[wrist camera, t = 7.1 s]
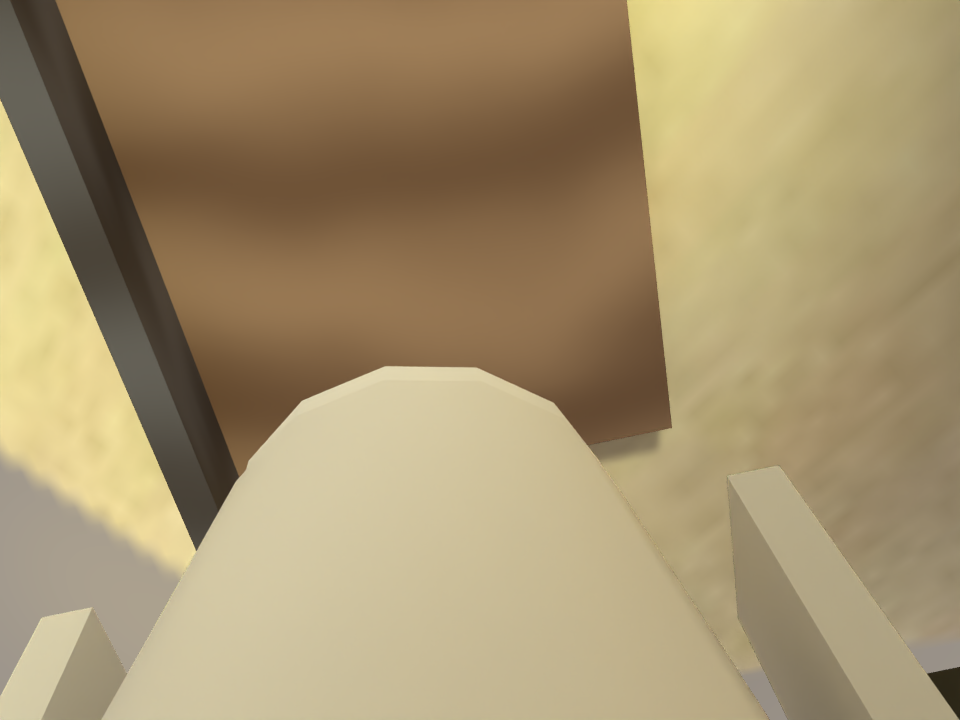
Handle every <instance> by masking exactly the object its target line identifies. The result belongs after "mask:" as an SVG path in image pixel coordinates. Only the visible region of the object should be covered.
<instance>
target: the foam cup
mask: <svg viewBox="0 0 960 720" xmlns="http://www.w3.org/2000/svg"><path fill="white" fill-rule="evenodd" d="M101 720H770V719H769V718H768V716H767V714H766V713H765V711H764V710H763V708H762V707H761V705H760V704H759V702H758V701H757V699H756V698H755V696H754V695H753V693H752V691H751V690H750V688H749V687H748V686H747V684H746V682H745V681H744V679H743V678H742V676H741V675H740V673H739V672H738V670H737V669H736V667H735V665H734V664H733V662H732V661H731V659H730V658H729V656H728V655H727V653H726V652H725V650H724V649H723V647H722V646H721V644H720V643H719V641H718V639H717V638H716V636H715V635H714V633H713V632H712V630H711V629H710V627H709V626H708V624H707V623H706V621H705V620H704V618H703V617H702V615H701V613H700V612H699V610H698V609H697V607H696V606H695V604H694V603H693V601H692V600H691V598H690V597H689V595H688V594H687V592H686V591H685V589H684V587H683V586H682V584H681V583H680V581H679V580H678V578H677V577H676V575H675V574H674V572H673V571H672V569H671V568H670V566H669V565H668V563H667V561H666V560H665V558H664V557H663V555H662V554H661V552H660V551H659V549H658V548H657V546H656V545H655V543H654V542H653V540H652V539H651V537H650V535H649V534H648V532H647V531H646V529H645V528H644V526H643V525H642V523H641V522H640V520H639V519H638V517H637V516H636V514H635V513H634V511H633V509H632V508H631V506H630V505H629V503H628V502H627V500H626V499H625V497H624V496H623V494H622V493H621V491H620V490H619V488H618V487H617V485H616V483H615V482H614V481H613V479H612V478H611V477H610V476H609V474H608V473H607V472H606V470H605V469H604V468H603V467H602V465H601V463H600V461H599V460H598V458H597V457H596V456H595V455H594V453H593V452H592V451H591V449H590V448H589V447H588V446H587V444H586V443H585V442H584V441H583V439H582V438H581V437H580V435H579V434H578V433H577V432H576V430H575V429H574V428H573V427H572V425H571V424H570V423H569V421H568V420H567V419H566V418H565V416H564V415H563V414H562V413H561V411H560V410H559V409H558V407H557V406H556V405H555V404H554V403H553V402H551V401H549V400H546V399H544V398H542V397H540V396H538V395H536V394H533V393H531V392H529V391H527V390H525V389H522V388H520V387H518V386H516V385H514V384H512V383H509V382H507V381H505V380H503V379H501V378H498V377H496V376H494V375H492V374H490V373H488V372H485V371H483V370H481V369H479V368H477V367H403V366H384V367H382V368H380V369H377V370H375V371H372V372H370V373H368V374H365V375H363V376H360V377H358V378H355V379H353V380H351V381H348V382H346V383H343V384H341V385H339V386H336V387H334V388H331V389H329V390H326V391H324V392H322V393H319V394H317V395H314V396H312V397H310V398H307V399H305V400H302V401H301V403H300V404H299V405H298V406H297V407H296V408H295V409H294V410H293V412H292V413H291V414H290V415H289V416H288V417H287V418H286V419H285V420H284V422H283V423H282V424H281V425H280V426H279V427H278V428H277V429H276V431H275V432H274V433H273V434H272V435H271V436H270V437H269V438H268V440H267V441H266V442H265V443H264V444H263V445H262V446H261V447H260V449H259V450H258V451H257V452H256V453H255V454H254V455H253V456H252V458H251V459H250V460H249V461H248V465H247V468H246V471H245V472H244V473H243V474H242V475H241V476H240V477H239V478H238V480H237V481H236V482H235V484H234V486H233V487H232V489H231V491H230V493H229V494H228V496H227V498H226V500H225V502H224V503H223V505H222V507H221V509H220V510H219V512H218V514H217V516H216V517H215V519H214V521H213V523H212V525H211V526H210V528H209V530H208V532H207V533H206V535H205V537H204V539H203V541H202V542H201V544H200V546H199V548H198V549H197V551H196V553H195V555H194V556H193V558H192V560H191V562H190V564H189V565H188V567H187V569H186V571H185V572H184V574H183V576H182V578H181V579H180V581H179V583H178V585H177V587H176V588H175V590H174V592H173V594H172V595H171V597H170V599H169V601H168V603H167V604H166V606H165V608H164V610H163V611H162V613H161V615H160V617H159V619H158V620H157V622H156V624H155V626H154V627H153V629H152V631H151V633H150V634H149V636H148V638H147V640H146V642H145V643H144V645H143V647H142V649H141V650H140V652H139V654H138V656H137V657H136V659H135V661H134V663H133V665H132V666H131V668H130V670H129V672H128V673H127V675H126V677H125V679H124V680H123V682H122V684H121V686H120V688H119V689H118V691H117V693H116V695H115V696H114V698H113V700H112V702H111V704H110V705H109V707H108V709H107V711H106V712H105V714H104V716H103V718H102V719H101Z"/></svg>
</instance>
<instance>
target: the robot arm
mask: <svg viewBox="0 0 960 720" xmlns="http://www.w3.org/2000/svg"><path fill="white" fill-rule="evenodd" d="M727 483H728V496H729V509H730V523H731V536H732V549H733V562H734V575H735V588H736V601H737V614H738V619H739V621H740V623H741V625H742V627H743V629H744V631H745V633H746V635H747V637H748V639H749V641H750V643H751V645H752V647H753V650H754V652H755V654H756V656H757V658H758V660H759V662H760V664H761V666H762V668H763V670H764V672H765V674H766V676H767V678H768V680H769V682H770V684H771V686H772V688H773V690H774V692H775V694H776V696H777V698H778V700H779V703H780V705H781V707H782V709H783V711H784V713H785V715H786V717H787V719H788V720H960V667H957V668H953V669H948V670H943V671H938V672H933V673H928V674H927V673H926V672H925V671H924V669H923V668H922V666H921V665H920V664H919V663H918V661H917V659H916V658H915V657H914V655H913V654H912V652H911V651H910V649H909V648H908V647H907V645H906V644H905V642H904V641H903V640H902V638H901V637H900V635H899V634H898V632H897V631H896V630H895V628H894V627H893V625H892V624H891V623H890V621H889V620H888V618H887V617H886V616H885V614H884V613H883V611H882V610H881V608H880V607H879V606H878V604H877V603H876V601H875V600H874V599H873V597H872V596H871V594H870V593H869V592H868V590H867V589H866V587H865V586H864V584H863V583H862V582H861V580H860V579H859V577H858V576H857V575H856V573H855V572H854V570H853V569H852V567H851V566H850V565H849V563H848V562H847V560H846V559H845V558H844V556H843V555H842V553H841V552H840V551H839V549H838V548H837V546H836V545H835V543H834V542H833V541H832V539H831V538H830V536H829V535H828V534H827V532H826V531H825V529H824V528H823V527H822V525H821V524H820V522H819V521H818V519H817V518H816V517H815V515H814V514H813V512H812V511H811V510H810V508H809V507H808V505H807V504H806V503H805V501H804V500H803V498H802V497H801V495H800V494H799V493H798V491H797V490H796V488H795V487H794V486H793V484H792V483H791V481H790V480H789V479H788V477H787V476H786V474H785V473H784V471H783V470H782V469H781V467H780V466H779V465H777V466H772V467H767V468H762V469H757V470H753V471H748V472H743V473H738V474H733V475H728V476H727ZM126 675H127V673H126V671H125V669H124V667H123V665H122V663H121V661H120V659H119V657H118V655H117V654H116V651H115V650H114V648H113V646H112V644H111V642H110V640H109V638H108V636H107V634H106V632H105V630H104V628H103V626H102V624H101V623H100V621H99V618H98V617H97V615H96V613H95V611H94V609H93V607H91V608H86V609H81V610H76V611H72V612H67V613H62V614H58V615H53V616H48V617H43V618H41V620H40V622H39V624H38V626H37V627H36V629H35V631H34V633H33V635H32V637H31V639H30V641H29V643H28V645H27V646H26V649H25V650H24V652H23V654H22V656H21V658H20V660H19V662H18V664H17V666H16V667H15V669H14V671H13V673H12V675H11V677H10V679H9V681H8V683H7V685H6V687H5V689H4V690H3V693H2V694H1V696H0V720H101V719H102V718H103V716H104V714H105V712H106V711H107V709H108V707H109V705H110V704H111V702H112V700H113V698H114V696H115V695H116V693H117V691H118V689H119V688H120V686H121V684H122V682H123V680H124V679H125V677H126Z"/></svg>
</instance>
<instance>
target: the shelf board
mask: <svg viewBox="0 0 960 720" xmlns="http://www.w3.org/2000/svg"><path fill="white" fill-rule="evenodd" d="M0 99H1V101H2V104H3V106H4V108H5V111H6V113H7V115H8V118H9V120H10V122H11V125H12V127H13V129H14V131H15V134H16V136H17V138H18V141H19V143H20V145H21V148H22V150H23V152H24V155H25V157H26V159H27V161H28V164H29V166H30V168H31V171H32V173H33V175H34V178H35V180H36V182H37V184H38V187H39V189H40V191H41V194H42V196H43V198H44V201H45V203H46V205H47V208H48V210H49V212H50V214H51V217H52V219H53V221H54V224H55V226H56V228H57V231H58V233H59V235H60V238H61V240H62V242H63V244H64V247H65V249H66V251H67V254H68V256H69V258H70V261H71V263H72V265H73V268H74V270H75V272H76V274H77V277H78V279H79V281H80V284H81V286H82V288H83V291H84V293H85V295H86V297H87V300H88V302H89V304H90V307H91V309H92V311H93V314H94V316H95V318H96V321H97V323H98V325H99V327H100V330H101V332H102V334H103V337H104V339H105V341H106V344H107V346H108V348H109V351H110V353H111V355H112V357H113V360H114V362H115V364H116V367H117V369H118V371H119V374H120V376H121V378H122V381H123V383H124V385H125V387H126V390H127V392H128V394H129V397H130V399H131V401H132V404H133V406H134V408H135V410H136V413H137V415H138V417H139V420H140V422H141V424H142V427H143V429H144V431H145V434H146V436H147V438H148V440H149V443H150V445H151V447H152V450H153V452H154V454H155V457H156V459H157V461H158V464H159V466H160V468H161V470H162V473H163V475H164V477H165V480H166V482H167V484H168V487H169V489H170V491H171V494H172V496H173V498H174V500H175V503H176V505H177V507H178V510H179V512H180V514H181V517H182V519H183V521H184V523H185V526H186V528H187V530H188V533H189V535H190V537H191V540H192V542H193V544H194V547H195V549H196V551H197V549H198V548H199V546H200V544H201V542H202V541H203V539H204V537H205V535H206V533H207V532H208V530H209V528H210V526H211V525H212V523H213V521H214V519H215V517H216V516H217V514H218V512H219V510H220V509H221V507H222V505H223V503H224V502H225V500H226V498H227V496H228V494H229V493H230V491H231V489H232V487H233V486H234V484H235V482H236V481H237V480H238V478H239V477H240V476H241V475H242V474H243V473H244V472H245V471H246V468H247V465H248V461H249V460H250V459H251V458H252V456H253V455H254V454H255V453H256V452H257V451H258V450H259V449H260V447H261V446H262V445H263V444H264V443H265V442H266V441H267V440H268V438H269V437H270V436H271V435H272V434H273V433H274V432H275V431H276V429H277V428H278V427H279V426H280V425H281V424H282V423H283V422H284V420H285V419H286V418H287V417H288V416H289V415H290V414H291V413H292V412H293V410H294V409H295V408H296V407H297V406H298V405H299V404H300V403H301V401H302V400H305V399H307V398H310V397H312V396H314V395H317V394H319V393H322V392H324V391H326V390H329V389H331V388H334V387H336V386H339V385H341V384H343V383H346V382H348V381H351V380H353V379H355V378H358V377H360V376H363V375H365V374H368V373H370V372H372V371H375V370H377V369H380V368H382V367H384V366H403V367H477V368H479V369H481V370H483V371H485V372H488V373H490V374H492V375H494V376H496V377H498V378H501V379H503V380H505V381H507V382H509V383H512V384H514V385H516V386H518V387H520V388H522V389H525V390H527V391H529V392H531V393H533V394H536V395H538V396H540V397H542V398H544V399H546V400H549V401H551V402H553V403H554V404H555V405H556V406H557V407H558V409H559V410H560V411H561V413H562V414H563V415H564V416H565V418H566V419H567V420H568V421H569V423H570V424H571V425H572V427H573V428H574V429H575V430H576V432H577V433H578V434H579V435H580V437H581V438H582V439H583V441H584V442H585V443H586V444H587V445H591V444H596V443H600V442H605V441H610V440H615V439H620V438H625V437H630V436H635V435H639V434H644V433H649V432H654V431H659V430H664V429H669V428H672V424H671V415H670V405H669V396H668V386H667V377H666V367H665V358H664V348H663V339H662V330H661V320H660V311H659V301H658V292H657V282H656V273H655V263H654V254H653V245H652V235H651V226H650V216H649V207H648V197H647V188H646V178H645V169H644V160H643V150H642V141H641V131H640V122H639V112H638V103H637V94H636V84H635V75H634V65H633V56H632V46H631V37H630V27H629V18H628V9H627V0H0Z"/></svg>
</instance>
